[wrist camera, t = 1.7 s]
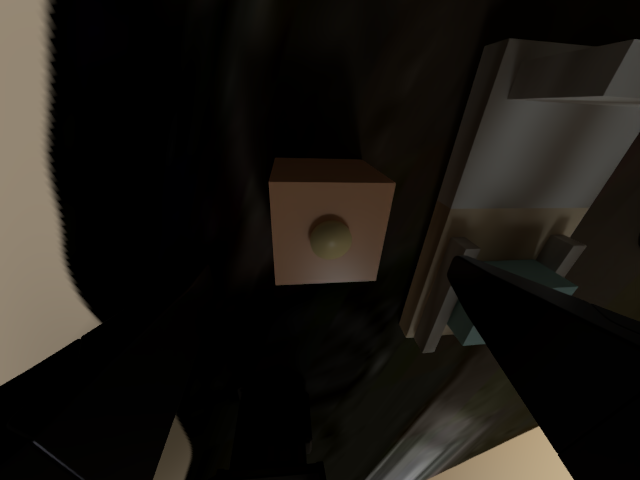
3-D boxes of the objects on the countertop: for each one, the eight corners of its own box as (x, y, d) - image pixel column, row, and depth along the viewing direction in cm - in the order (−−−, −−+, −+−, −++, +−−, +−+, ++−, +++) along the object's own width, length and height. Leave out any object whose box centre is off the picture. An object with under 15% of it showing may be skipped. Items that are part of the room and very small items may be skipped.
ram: (437, 314, 19) (524, 434, 12) (459, 262, 16) (586, 376, 9) (503, 309, 20) (620, 420, 13) (534, 259, 17) (702, 363, 10)
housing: (279, 235, 15) (275, 289, 11) (275, 157, 13) (268, 184, 8) (352, 234, 16) (377, 284, 11) (361, 159, 14) (399, 185, 9)
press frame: (398, 323, 21) (430, 385, 17) (484, 46, 11) (624, 2, 7) (495, 316, 23) (550, 372, 18) (648, 61, 13) (864, 33, 8)
